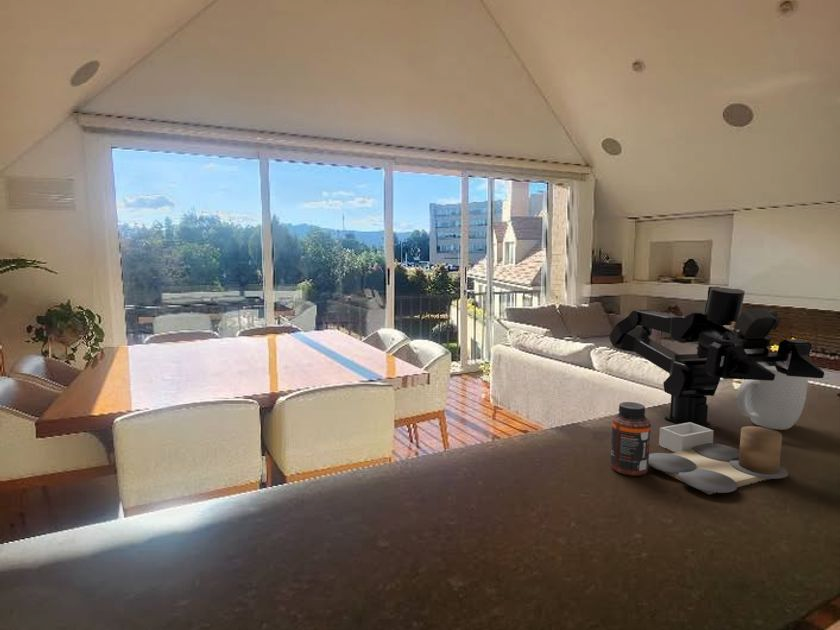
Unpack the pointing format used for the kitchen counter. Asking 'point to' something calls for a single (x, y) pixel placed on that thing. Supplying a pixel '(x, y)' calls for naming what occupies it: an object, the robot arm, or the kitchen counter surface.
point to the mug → (773, 400)
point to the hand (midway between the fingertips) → (798, 376)
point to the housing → (684, 436)
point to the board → (726, 462)
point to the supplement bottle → (630, 440)
